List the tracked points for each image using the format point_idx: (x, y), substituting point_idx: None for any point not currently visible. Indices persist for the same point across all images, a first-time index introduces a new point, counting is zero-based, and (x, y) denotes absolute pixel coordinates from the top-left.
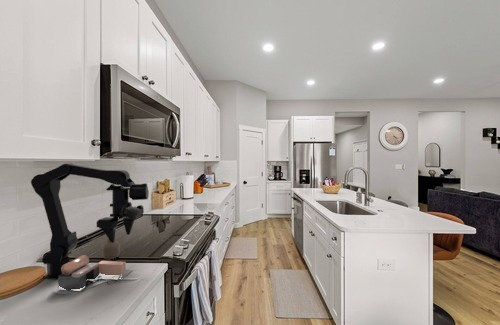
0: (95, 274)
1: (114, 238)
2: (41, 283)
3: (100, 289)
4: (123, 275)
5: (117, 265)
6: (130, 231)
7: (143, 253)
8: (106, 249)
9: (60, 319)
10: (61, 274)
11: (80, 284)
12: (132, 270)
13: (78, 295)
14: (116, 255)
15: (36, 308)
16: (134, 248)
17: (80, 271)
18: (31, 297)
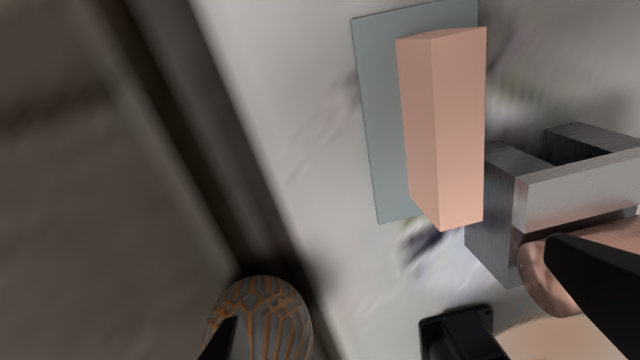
0: (512, 155)
1: (608, 257)
2: (516, 320)
3: (561, 33)
4: (428, 21)
5: (482, 62)
6: (206, 351)
7: (101, 181)
8: (308, 345)
9: None
10: None
11: (604, 131)
12: (354, 19)
13: (606, 95)
14: (258, 279)
15: None
16: (84, 302)
17: (637, 181)
18: None
